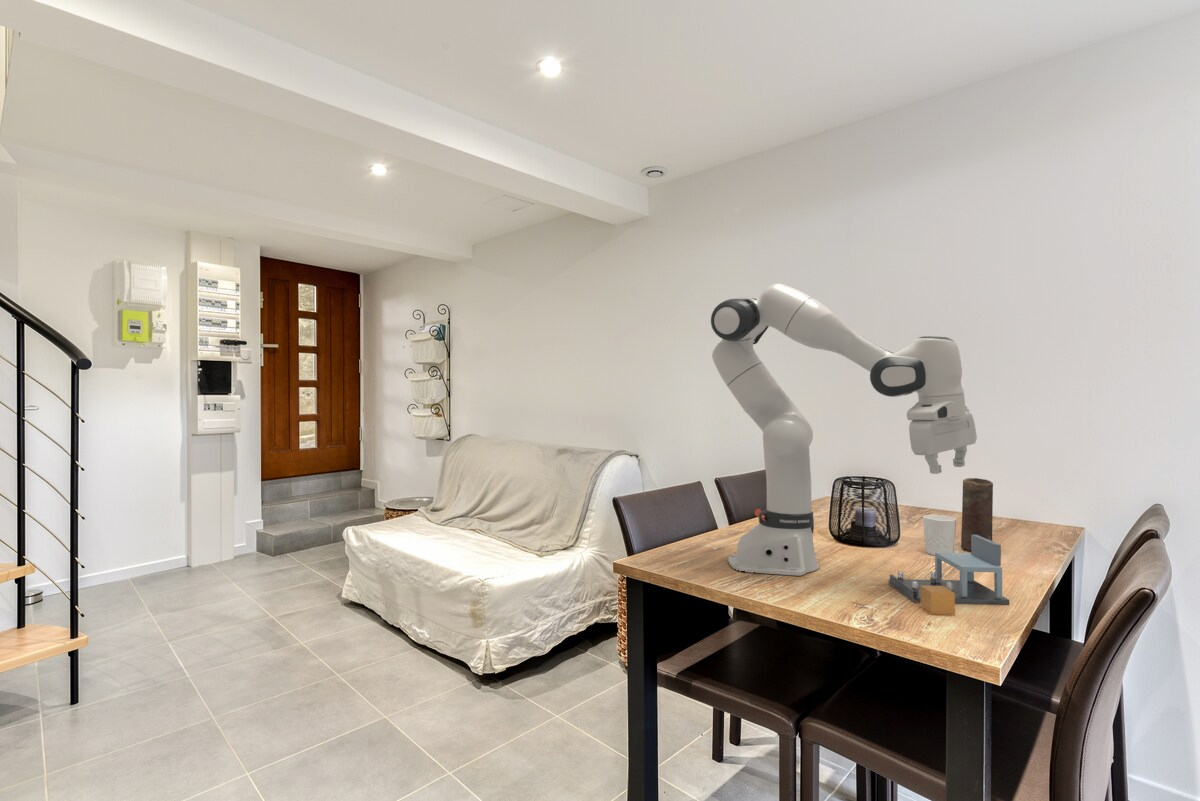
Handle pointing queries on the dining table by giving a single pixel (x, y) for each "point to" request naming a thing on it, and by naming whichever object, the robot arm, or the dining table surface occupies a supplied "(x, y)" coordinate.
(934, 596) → the brown block
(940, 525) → the white cup
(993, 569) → the grey miniature chair
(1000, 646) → the dining table surface
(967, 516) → the dark brown cylinder
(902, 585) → the base plate
